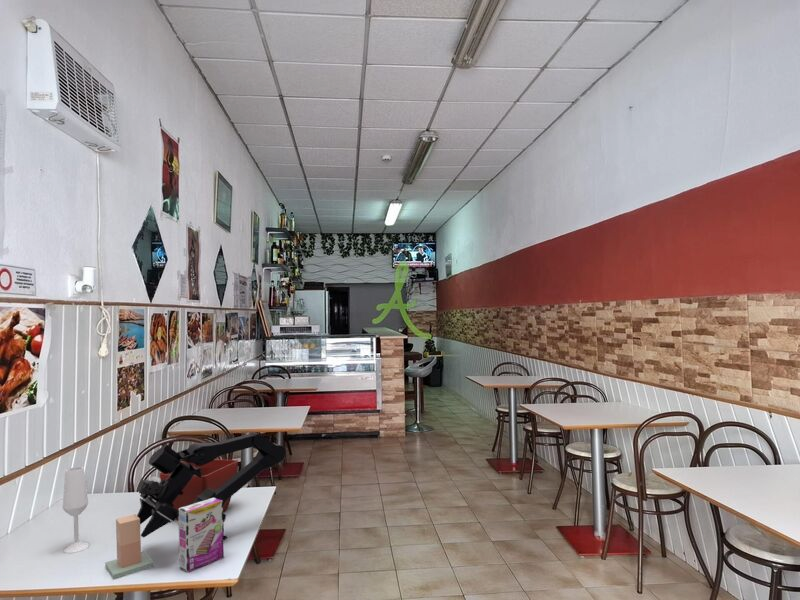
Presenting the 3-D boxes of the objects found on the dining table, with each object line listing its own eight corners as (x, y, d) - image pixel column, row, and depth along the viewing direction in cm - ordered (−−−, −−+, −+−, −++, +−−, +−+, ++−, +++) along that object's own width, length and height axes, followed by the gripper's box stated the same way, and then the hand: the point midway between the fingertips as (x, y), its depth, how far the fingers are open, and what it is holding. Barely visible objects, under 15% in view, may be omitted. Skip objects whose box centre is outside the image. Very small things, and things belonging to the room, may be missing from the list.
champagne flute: (66, 545, 165) (64, 467, 166) (91, 541, 167) (89, 464, 168) (61, 554, 159) (59, 473, 159) (87, 550, 161) (84, 470, 162)
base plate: (143, 555, 155) (143, 551, 156) (153, 566, 148) (153, 562, 148) (105, 566, 149) (105, 562, 149) (113, 579, 141) (113, 574, 141)
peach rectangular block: (136, 556, 152) (135, 514, 152) (141, 562, 148) (139, 518, 149) (117, 562, 149) (115, 519, 149) (121, 568, 145) (120, 523, 145)
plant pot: (159, 523, 181) (157, 473, 181) (197, 503, 199) (195, 458, 199) (206, 527, 175) (204, 476, 175) (241, 507, 193) (239, 460, 193)
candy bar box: (188, 573, 143) (186, 511, 143) (178, 568, 146) (176, 508, 147) (225, 557, 152) (223, 499, 152) (215, 553, 155) (213, 496, 155)
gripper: (145, 462, 161) (106, 509, 154) (164, 474, 147) (122, 527, 139) (174, 481, 166) (137, 528, 159) (194, 495, 152) (155, 547, 144)
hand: (137, 531), depth 150 cm, fingers open, 9 cm apart
